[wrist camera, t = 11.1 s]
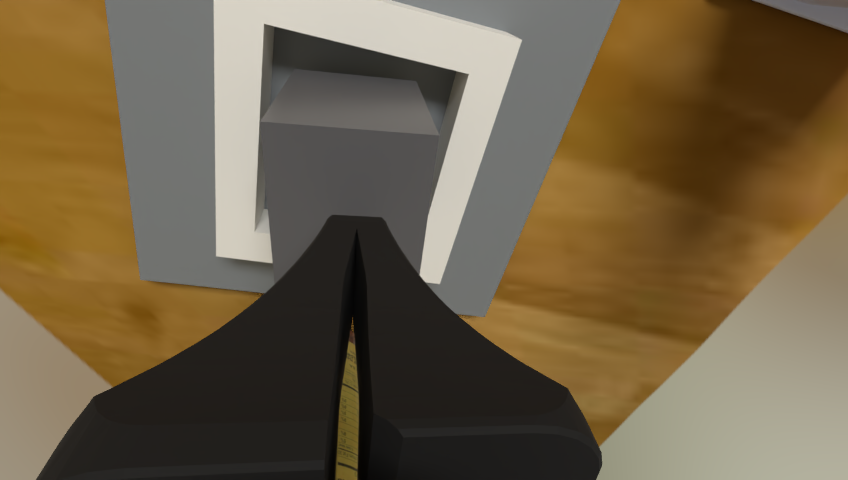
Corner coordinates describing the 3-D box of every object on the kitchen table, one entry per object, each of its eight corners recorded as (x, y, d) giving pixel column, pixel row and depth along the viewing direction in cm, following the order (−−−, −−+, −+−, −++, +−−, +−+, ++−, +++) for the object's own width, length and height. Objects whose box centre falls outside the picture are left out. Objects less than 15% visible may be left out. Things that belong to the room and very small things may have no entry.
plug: (413, 73, 17) (439, 135, 11) (401, 195, 20) (416, 296, 14) (298, 62, 16) (260, 121, 10) (303, 189, 19) (275, 294, 13)
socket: (622, -43, 17) (671, -44, 14) (480, 303, 26) (493, 342, 23) (97, -223, 12) (25, -272, 10) (150, 265, 22) (120, 307, 19)
